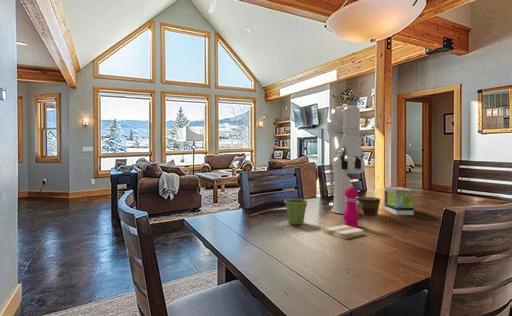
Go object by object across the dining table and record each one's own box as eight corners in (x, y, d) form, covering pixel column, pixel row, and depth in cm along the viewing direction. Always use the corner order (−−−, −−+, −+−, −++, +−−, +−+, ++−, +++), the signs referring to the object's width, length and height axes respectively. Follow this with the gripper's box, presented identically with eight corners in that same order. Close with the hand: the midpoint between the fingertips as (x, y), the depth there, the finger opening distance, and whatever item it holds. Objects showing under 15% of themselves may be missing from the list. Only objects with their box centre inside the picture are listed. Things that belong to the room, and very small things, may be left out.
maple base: (323, 232, 125) (323, 227, 125) (341, 228, 131) (341, 224, 131) (345, 239, 115) (345, 234, 115) (363, 234, 121) (363, 229, 121)
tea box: (414, 217, 153) (414, 189, 153) (395, 217, 154) (395, 190, 153) (400, 211, 168) (401, 186, 168) (383, 211, 169) (383, 186, 168)
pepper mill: (348, 228, 131) (348, 185, 130) (340, 224, 138) (340, 183, 137) (362, 227, 133) (362, 185, 132) (353, 223, 140) (353, 183, 139)
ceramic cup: (376, 214, 159) (376, 197, 159) (382, 218, 150) (382, 200, 149) (353, 214, 161) (353, 196, 161) (357, 218, 151) (357, 199, 151)
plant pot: (307, 227, 134) (307, 203, 134) (283, 225, 137) (282, 202, 136) (308, 221, 146) (308, 199, 146) (285, 220, 148) (285, 198, 148)
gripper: (356, 134, 142) (356, 168, 142) (332, 132, 133) (332, 169, 133) (369, 133, 136) (369, 168, 136) (345, 131, 126) (345, 170, 127)
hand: (351, 169), depth 135 cm, fingers open, 9 cm apart
